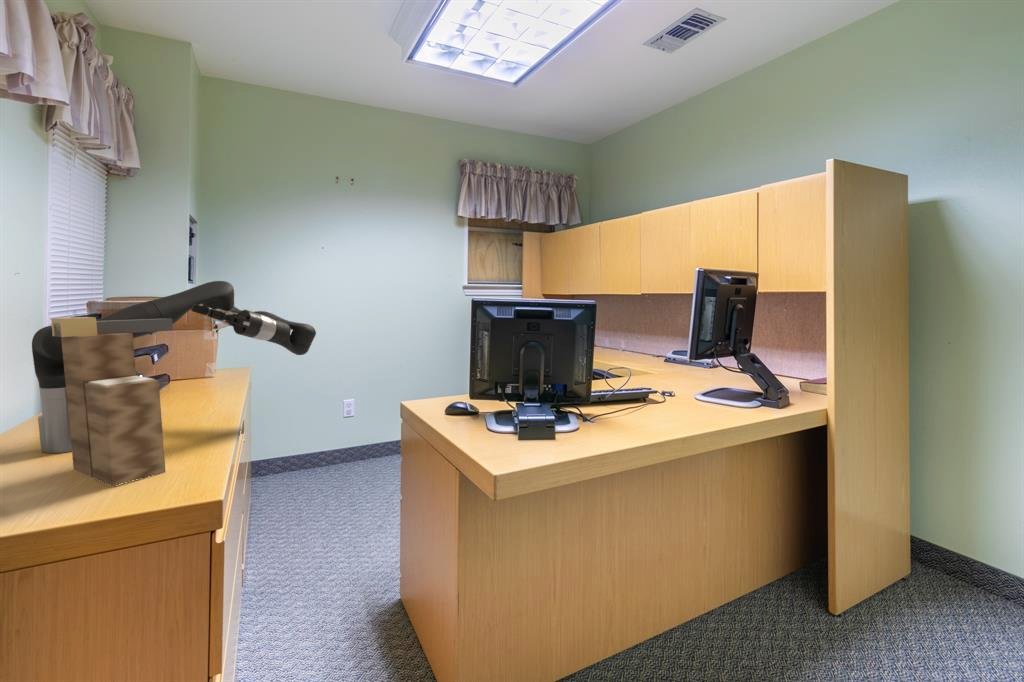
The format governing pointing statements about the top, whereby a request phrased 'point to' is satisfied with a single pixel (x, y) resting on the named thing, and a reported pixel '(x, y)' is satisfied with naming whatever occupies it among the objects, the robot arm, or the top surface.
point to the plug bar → (106, 326)
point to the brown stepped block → (111, 410)
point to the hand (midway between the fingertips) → (200, 309)
